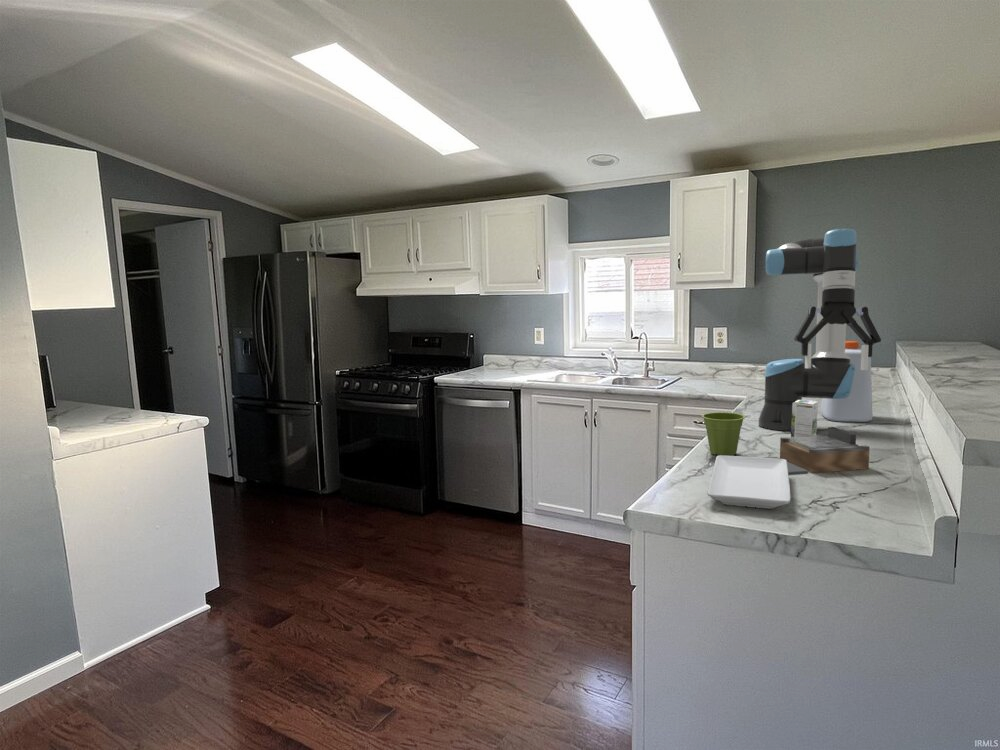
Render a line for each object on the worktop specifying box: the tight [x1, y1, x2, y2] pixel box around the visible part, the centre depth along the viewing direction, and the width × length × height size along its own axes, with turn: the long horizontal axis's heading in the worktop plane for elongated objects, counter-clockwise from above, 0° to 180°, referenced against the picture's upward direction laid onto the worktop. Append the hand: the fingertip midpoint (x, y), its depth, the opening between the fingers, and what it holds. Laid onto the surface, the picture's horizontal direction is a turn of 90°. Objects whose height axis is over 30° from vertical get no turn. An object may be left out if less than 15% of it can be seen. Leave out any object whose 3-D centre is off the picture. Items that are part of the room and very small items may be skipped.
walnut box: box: [779, 434, 870, 474], centre depth 161 cm, size 16×14×6 cm
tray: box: [706, 455, 792, 510], centre depth 142 cm, size 17×32×4 cm, turn 156°
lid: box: [787, 426, 859, 451], centre depth 161 cm, size 13×11×4 cm
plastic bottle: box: [820, 340, 874, 423], centre depth 216 cm, size 15×15×28 cm
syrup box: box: [790, 399, 819, 437], centre depth 176 cm, size 6×6×14 cm
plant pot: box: [701, 411, 746, 456], centre depth 174 cm, size 12×12×11 cm
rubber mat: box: [764, 456, 808, 475], centre depth 160 cm, size 16×14×1 cm
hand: (835, 369), depth 158 cm, fingers open, 13 cm apart
